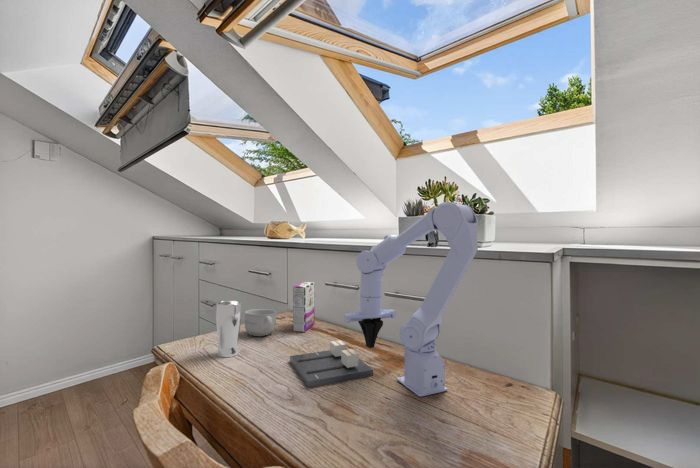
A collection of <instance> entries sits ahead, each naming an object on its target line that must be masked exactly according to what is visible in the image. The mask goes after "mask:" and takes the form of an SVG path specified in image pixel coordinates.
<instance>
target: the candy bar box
mask: <svg viewBox="0 0 700 468" xmlns="http://www.w3.org/2000/svg"><path fill="white" fill-rule="evenodd" d="M292 308H293V309H292V314H293V315H292V319H293V320H292V326H293V327H292V330H293V332H295V331H299V332H298V333H307V331H309V330H310V328H312V325H313V326H314V325H315V282H314V281H302V282H301V283H299V284H298V283H297V284H296V285H294V286H293V287H292Z"/></svg>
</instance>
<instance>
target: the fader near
mask: <svg viewBox="0 0 700 468" xmlns="http://www.w3.org/2000/svg"><path fill="white" fill-rule="evenodd" d="M346 349H347V350H342V351H341V362H342V363H343V364H344V365H345V366H346V367H347V368H349V367H355V366H358V358H359V354H358V353H357V352H356V351H355V350H353V348H349V349H348V348H346Z"/></svg>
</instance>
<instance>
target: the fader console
mask: <svg viewBox="0 0 700 468" xmlns="http://www.w3.org/2000/svg"><path fill="white" fill-rule="evenodd" d="M347 349H348V348H346V350H347ZM289 362H290V365H292V367H293V368H294V370H295V371H296V372H297V374H298V375H299V377H300V378H301V379H302V381H303V382H304V384H305V386H306V387H307V389H311V388H315V387H320V386H326V385H330V384H337V383H341V382H348V381H352V380H358V379H363V378H368V377H373V376H374V369H373V368H371V367H370V366H369V365H368V364H367V363H365V362H364V361H363V360H361V358H359V357H358V366H355V367H349V368H347V367H346V366H345V365H344V364H343V363H342V362H341V356H337V357H335V356H334V355H333V354H332V353H331V352H330V349H328V350H324V351H321V350H320V351H315V352H309V353H302V354H294V355H289Z"/></svg>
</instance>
